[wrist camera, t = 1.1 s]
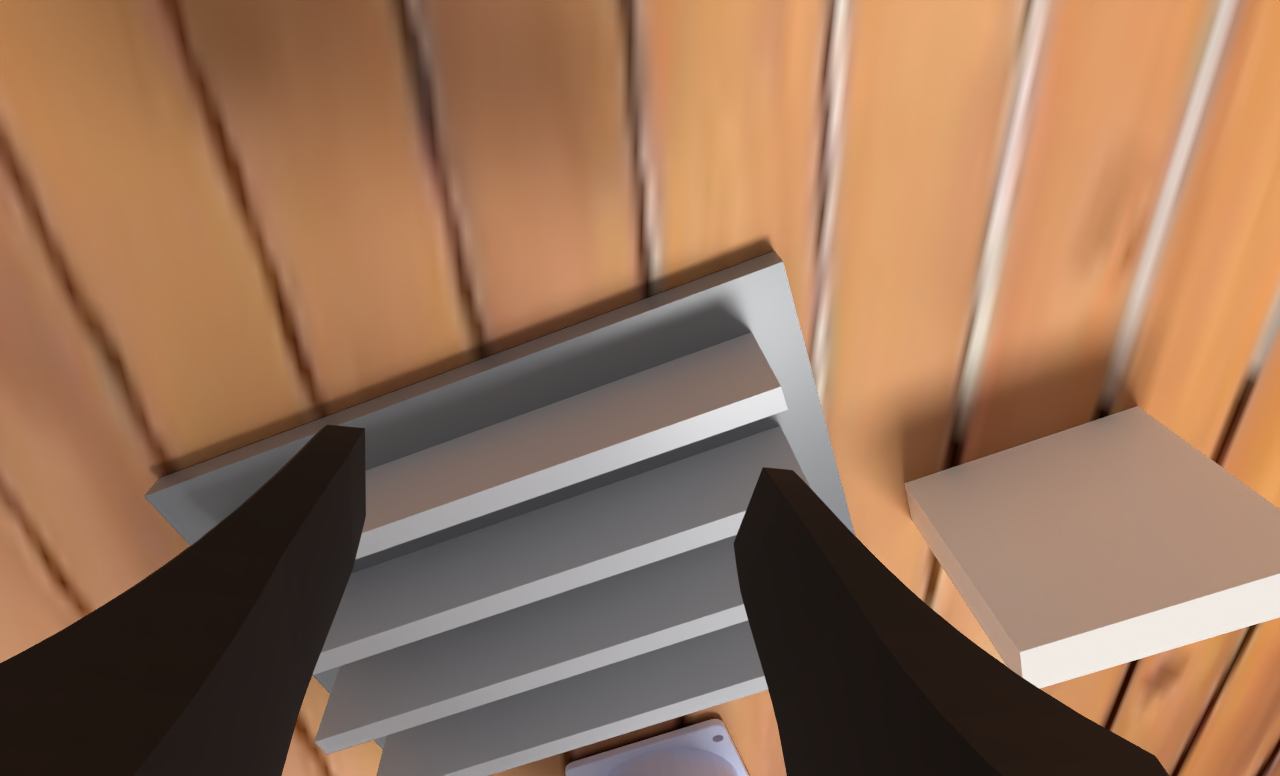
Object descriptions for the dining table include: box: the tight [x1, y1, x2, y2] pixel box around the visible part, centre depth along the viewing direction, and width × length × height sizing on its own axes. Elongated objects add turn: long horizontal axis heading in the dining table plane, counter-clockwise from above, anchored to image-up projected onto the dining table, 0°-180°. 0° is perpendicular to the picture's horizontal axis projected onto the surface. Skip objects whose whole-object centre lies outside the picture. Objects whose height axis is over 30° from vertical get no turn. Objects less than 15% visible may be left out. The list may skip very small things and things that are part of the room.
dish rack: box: [144, 251, 855, 776], centre depth 25 cm, size 16×22×4 cm
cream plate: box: [904, 406, 1280, 689], centre depth 24 cm, size 2×9×8 cm, turn 110°
